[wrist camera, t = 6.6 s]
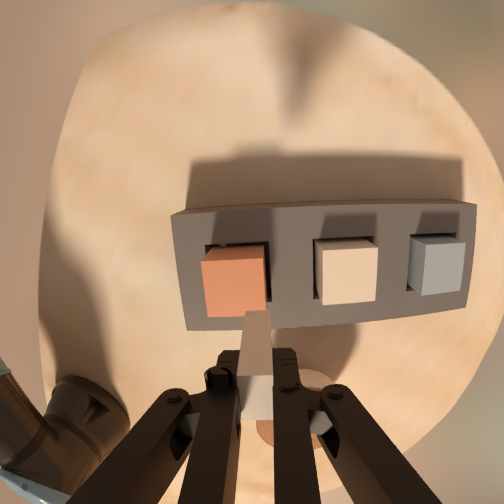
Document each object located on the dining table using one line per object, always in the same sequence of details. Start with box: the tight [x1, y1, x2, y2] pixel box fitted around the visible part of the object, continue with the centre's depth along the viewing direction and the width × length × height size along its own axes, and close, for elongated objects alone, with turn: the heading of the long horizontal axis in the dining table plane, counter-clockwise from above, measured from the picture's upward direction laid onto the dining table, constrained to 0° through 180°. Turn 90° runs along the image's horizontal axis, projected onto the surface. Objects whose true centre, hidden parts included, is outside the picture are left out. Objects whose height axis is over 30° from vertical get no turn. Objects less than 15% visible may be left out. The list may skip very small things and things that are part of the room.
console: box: [171, 199, 477, 331], centre depth 30 cm, size 32×12×5 cm, turn 94°
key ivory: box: [314, 236, 378, 305], centre depth 28 cm, size 5×5×5 cm
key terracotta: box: [201, 244, 267, 317], centre depth 27 cm, size 5×5×5 cm
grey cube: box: [407, 233, 466, 296], centre depth 27 cm, size 5×5×5 cm
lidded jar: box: [256, 369, 335, 449], centre depth 33 cm, size 11×11×9 cm
